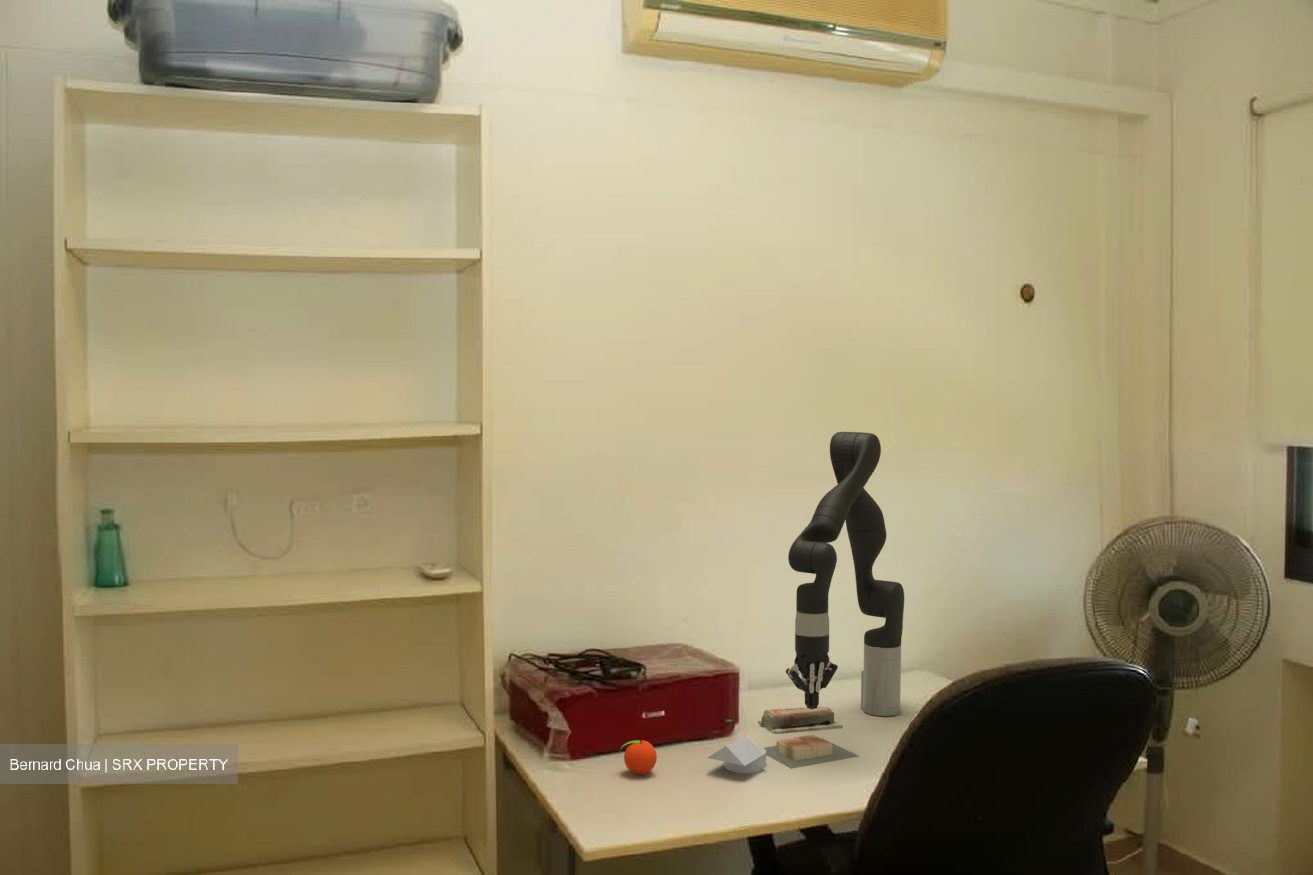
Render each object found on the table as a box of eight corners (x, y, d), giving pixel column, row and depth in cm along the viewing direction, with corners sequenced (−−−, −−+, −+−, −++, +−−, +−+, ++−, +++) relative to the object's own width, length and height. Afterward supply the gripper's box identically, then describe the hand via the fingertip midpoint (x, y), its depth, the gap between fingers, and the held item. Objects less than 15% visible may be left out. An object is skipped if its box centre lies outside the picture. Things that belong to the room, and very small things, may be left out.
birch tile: (813, 745, 249) (776, 751, 245) (813, 734, 249) (776, 740, 244) (831, 754, 243) (794, 761, 238) (832, 742, 243) (794, 749, 238)
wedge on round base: (744, 781, 227) (773, 764, 238) (744, 749, 227) (773, 733, 238) (706, 773, 232) (736, 756, 243) (707, 741, 232) (736, 726, 243)
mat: (755, 751, 246) (755, 749, 246) (821, 740, 254) (821, 737, 254) (791, 770, 234) (791, 768, 234) (859, 758, 242) (859, 755, 242)
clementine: (618, 778, 228) (618, 745, 228) (619, 767, 235) (619, 734, 235) (656, 779, 228) (656, 745, 228) (656, 767, 235) (657, 735, 235)
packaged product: (773, 717, 257) (757, 706, 267) (773, 738, 257) (757, 725, 267) (843, 711, 262) (826, 700, 271) (843, 731, 262) (825, 720, 272)
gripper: (826, 624, 250) (826, 699, 251) (777, 630, 244) (777, 707, 245) (846, 631, 243) (846, 708, 244) (796, 637, 237) (796, 716, 238)
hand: (811, 707), depth 244 cm, fingers closed
